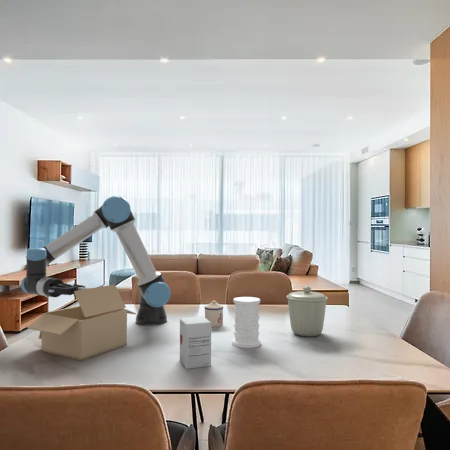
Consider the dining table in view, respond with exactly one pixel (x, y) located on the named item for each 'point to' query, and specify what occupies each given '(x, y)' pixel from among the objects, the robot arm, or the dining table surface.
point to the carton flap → (99, 300)
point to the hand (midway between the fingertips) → (91, 292)
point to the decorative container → (246, 322)
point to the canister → (307, 312)
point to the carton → (81, 332)
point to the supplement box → (195, 342)
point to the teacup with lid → (214, 314)
